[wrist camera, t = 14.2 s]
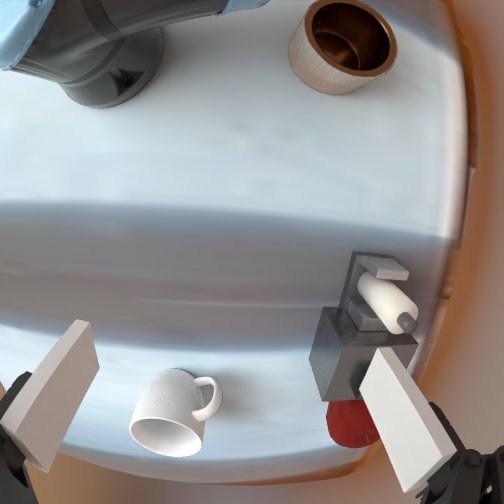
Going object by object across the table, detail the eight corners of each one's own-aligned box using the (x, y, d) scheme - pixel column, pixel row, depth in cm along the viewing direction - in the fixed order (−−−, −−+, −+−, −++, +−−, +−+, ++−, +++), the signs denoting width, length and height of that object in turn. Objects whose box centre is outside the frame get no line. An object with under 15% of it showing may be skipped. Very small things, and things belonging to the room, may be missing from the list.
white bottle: (361, 268, 38) (402, 310, 27) (387, 270, 38) (431, 310, 27) (354, 296, 39) (389, 344, 28) (379, 297, 40) (418, 342, 28)
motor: (336, 249, 39) (372, 286, 27) (405, 257, 40) (450, 291, 28) (304, 371, 46) (319, 424, 34) (365, 370, 46) (389, 416, 35)
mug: (202, 340, 43) (192, 402, 30) (239, 383, 46) (240, 443, 33) (135, 370, 44) (114, 424, 32) (173, 407, 48) (162, 461, 35)
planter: (377, 61, 30) (412, 41, 21) (338, 111, 33) (369, 99, 24) (315, 13, 28) (336, -19, 19) (270, 62, 30) (281, 33, 21)
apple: (377, 395, 49) (400, 442, 37) (324, 415, 50) (339, 466, 38) (373, 357, 45) (403, 409, 33) (312, 380, 46) (330, 439, 34)
